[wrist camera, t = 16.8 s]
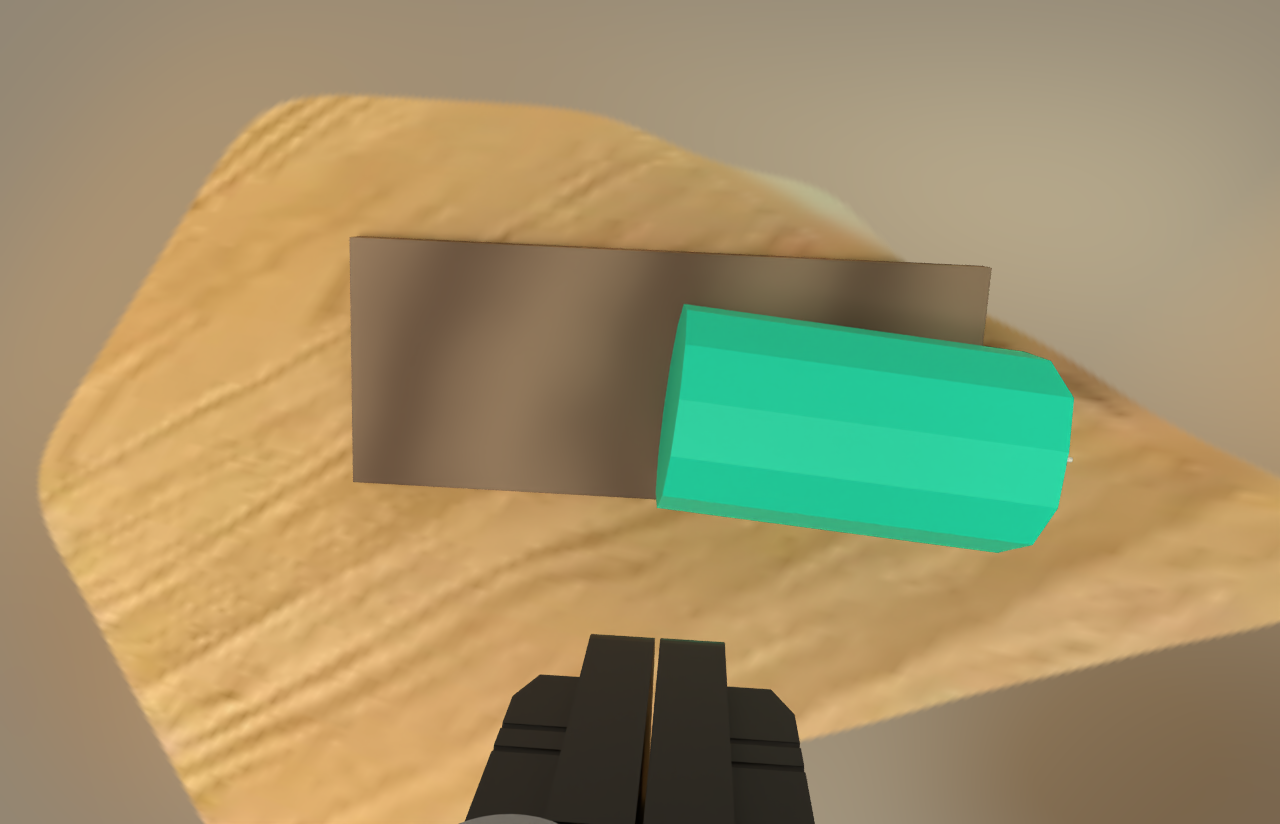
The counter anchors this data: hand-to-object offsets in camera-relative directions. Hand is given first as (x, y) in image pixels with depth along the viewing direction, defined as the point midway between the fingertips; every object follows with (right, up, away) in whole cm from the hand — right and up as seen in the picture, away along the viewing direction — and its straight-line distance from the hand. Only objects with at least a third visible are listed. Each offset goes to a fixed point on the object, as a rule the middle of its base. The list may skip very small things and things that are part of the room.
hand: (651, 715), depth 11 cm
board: (+1, +5, +22) cm, 22 cm away
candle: (+1, +4, +18) cm, 18 cm away
